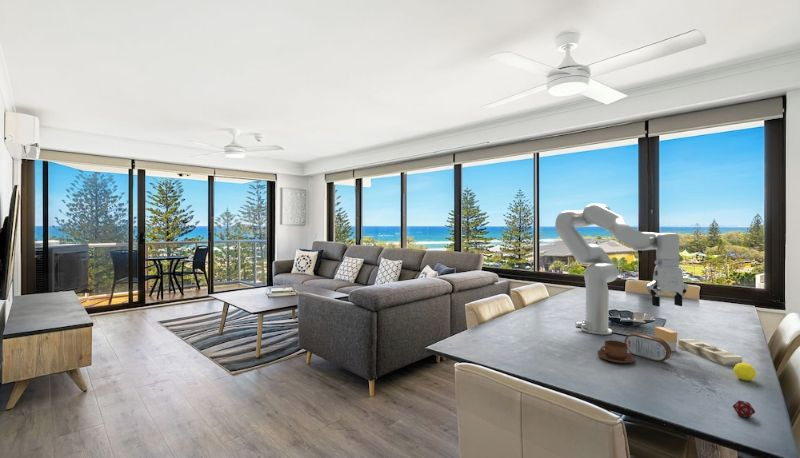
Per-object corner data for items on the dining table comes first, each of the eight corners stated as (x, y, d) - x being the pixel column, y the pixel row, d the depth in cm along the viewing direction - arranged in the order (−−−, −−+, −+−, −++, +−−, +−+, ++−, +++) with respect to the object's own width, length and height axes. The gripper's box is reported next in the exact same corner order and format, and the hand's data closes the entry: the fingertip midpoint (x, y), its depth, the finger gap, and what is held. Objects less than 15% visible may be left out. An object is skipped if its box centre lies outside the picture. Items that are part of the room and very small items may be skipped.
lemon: (754, 385, 118) (754, 368, 118) (731, 379, 122) (732, 363, 122) (757, 379, 122) (757, 363, 122) (735, 374, 126) (735, 358, 126)
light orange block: (676, 351, 148) (677, 332, 148) (669, 351, 148) (670, 332, 148) (660, 344, 156) (661, 326, 156) (654, 344, 156) (654, 326, 156)
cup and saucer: (621, 368, 131) (621, 350, 131) (590, 357, 141) (590, 340, 141) (641, 362, 136) (642, 345, 136) (610, 352, 147) (610, 336, 147)
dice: (755, 422, 96) (756, 407, 96) (732, 416, 99) (732, 401, 99) (754, 416, 98) (755, 401, 98) (732, 410, 101) (732, 396, 101)
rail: (742, 365, 134) (742, 356, 134) (724, 365, 134) (724, 357, 134) (693, 346, 154) (694, 339, 154) (678, 346, 154) (678, 339, 154)
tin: (671, 363, 136) (672, 340, 135) (667, 365, 134) (668, 341, 134) (627, 351, 148) (627, 330, 148) (623, 352, 146) (623, 331, 146)
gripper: (654, 264, 147) (654, 308, 147) (695, 264, 148) (694, 307, 149) (640, 262, 154) (640, 304, 155) (679, 262, 156) (679, 303, 156)
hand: (667, 305), depth 152 cm, fingers open, 9 cm apart
